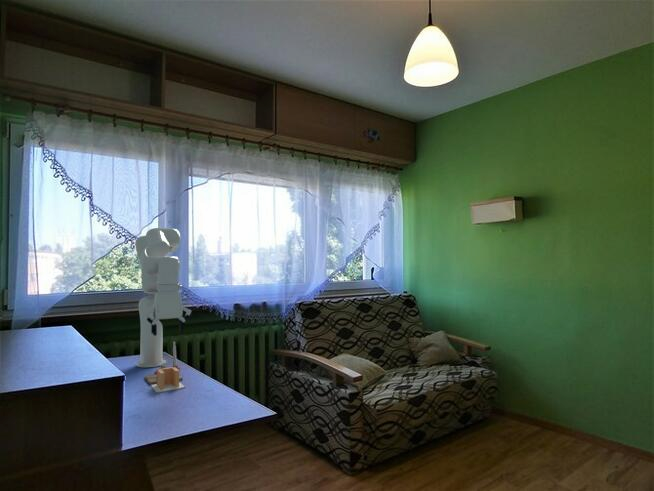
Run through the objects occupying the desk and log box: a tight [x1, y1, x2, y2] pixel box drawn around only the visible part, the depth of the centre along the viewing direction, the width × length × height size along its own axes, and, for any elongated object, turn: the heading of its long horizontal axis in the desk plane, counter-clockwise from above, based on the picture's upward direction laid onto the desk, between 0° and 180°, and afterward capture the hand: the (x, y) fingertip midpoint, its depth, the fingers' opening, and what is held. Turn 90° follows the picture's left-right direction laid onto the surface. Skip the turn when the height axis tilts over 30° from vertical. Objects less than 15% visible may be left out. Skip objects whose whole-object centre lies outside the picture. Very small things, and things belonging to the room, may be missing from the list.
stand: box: [144, 364, 184, 386], centre depth 169 cm, size 12×12×6 cm
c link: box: [156, 366, 180, 390], centre depth 158 cm, size 7×7×6 cm
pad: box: [150, 381, 186, 393], centre depth 158 cm, size 10×10×1 cm
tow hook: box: [154, 341, 181, 374], centre depth 181 cm, size 8×13×9 cm
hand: (168, 333), depth 159 cm, fingers open, 9 cm apart
